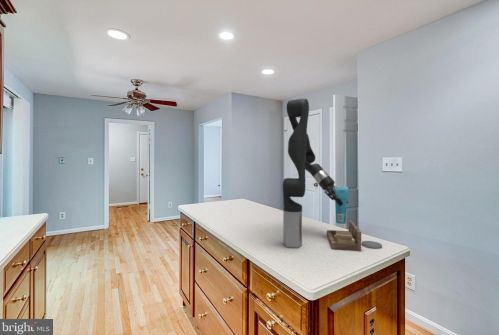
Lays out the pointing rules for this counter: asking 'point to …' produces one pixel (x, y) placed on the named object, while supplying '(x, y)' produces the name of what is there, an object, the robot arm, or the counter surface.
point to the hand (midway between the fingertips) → (344, 204)
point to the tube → (341, 210)
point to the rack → (346, 246)
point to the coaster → (372, 244)
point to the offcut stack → (343, 237)
